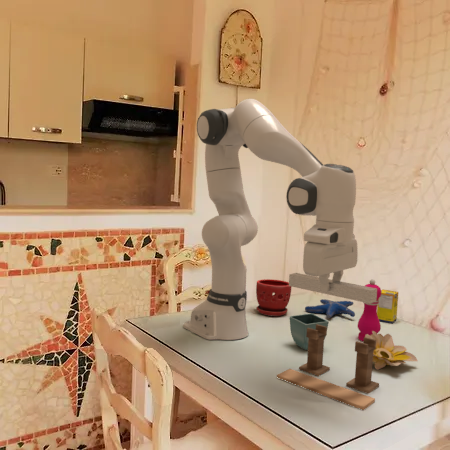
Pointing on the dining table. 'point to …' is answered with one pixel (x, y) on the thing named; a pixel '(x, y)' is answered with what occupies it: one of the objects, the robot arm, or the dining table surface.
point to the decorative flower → (388, 351)
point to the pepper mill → (369, 316)
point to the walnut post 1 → (315, 351)
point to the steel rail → (334, 288)
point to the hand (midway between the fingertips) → (330, 289)
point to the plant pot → (273, 297)
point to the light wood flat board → (327, 389)
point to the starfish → (331, 308)
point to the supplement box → (387, 306)
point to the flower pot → (304, 327)
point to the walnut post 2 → (364, 366)
